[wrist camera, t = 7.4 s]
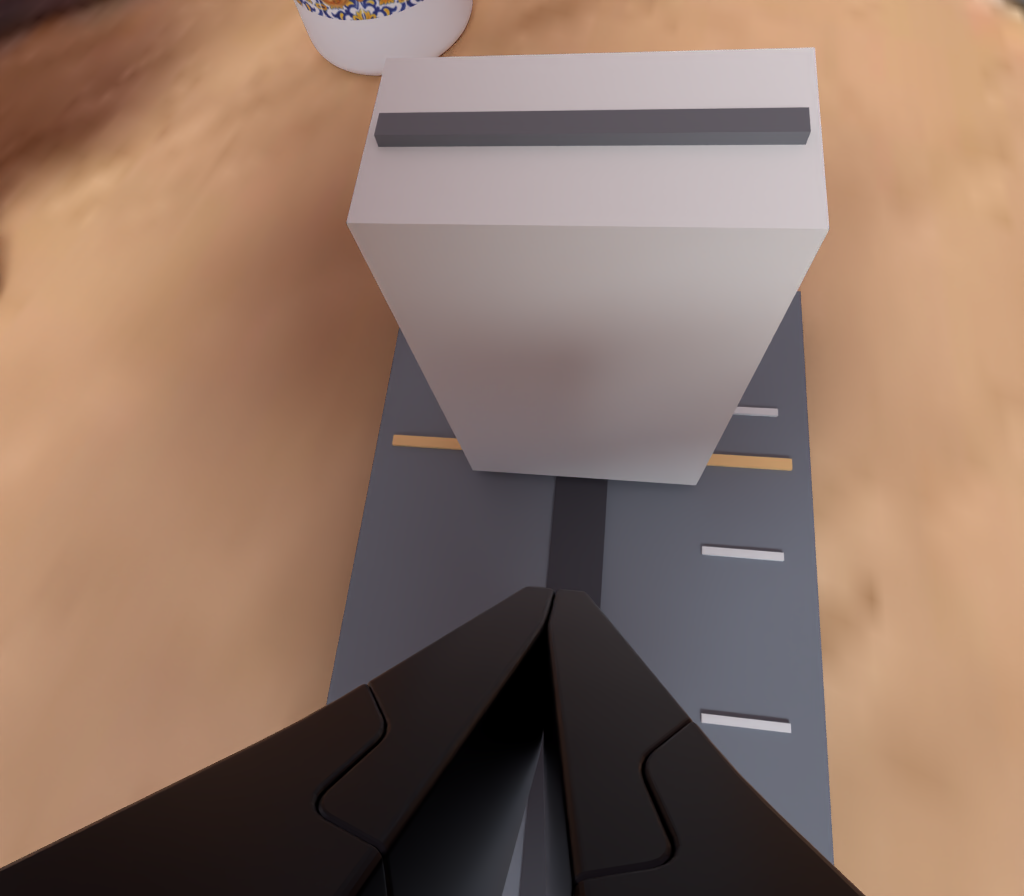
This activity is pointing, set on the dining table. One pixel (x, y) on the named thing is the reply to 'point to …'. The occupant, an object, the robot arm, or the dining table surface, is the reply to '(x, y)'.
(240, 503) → the dining table surface
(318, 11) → the bath foam
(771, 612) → the mixer panel
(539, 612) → the robot arm
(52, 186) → the dining table surface
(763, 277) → the fader knob
